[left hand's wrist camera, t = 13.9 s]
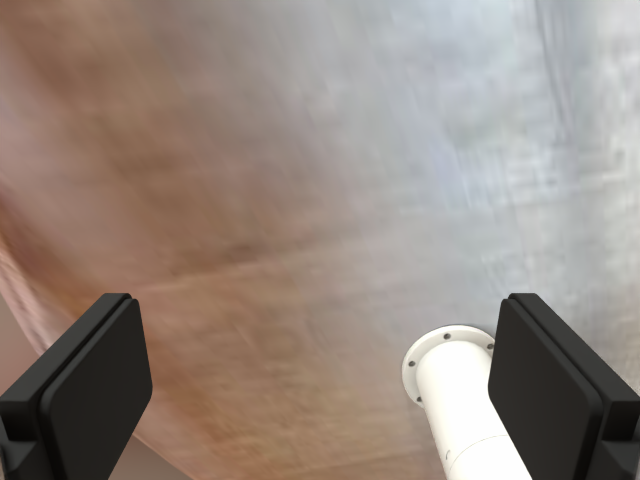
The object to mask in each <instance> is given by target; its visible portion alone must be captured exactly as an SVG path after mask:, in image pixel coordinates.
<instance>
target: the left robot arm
mask: <svg viewBox="0 0 640 480" xmlns="http://www.w3.org/2000/svg"><path fill="white" fill-rule="evenodd" d="M402 379H403V383H404V387H405V389H406V391H407V393H408V395H409V396H410V397H411V399H412V400H413V401H414V402H415V403H416V404H418V405H419V406H420V407H422V408H424V409H425V411H426V415H427V418H428V421H429V424H430V427H431V430H432V433H433V437H434V440H435V443H436V446H437V449H438V452H439V456H440V459H441V462H442V465H443V468H444V471H445V474H446V478H447V480H640V397H639V396H638V395H637V394H636V393H635V392H634V391H633V390H632V389H631V388H630V387H629V386H628V385H627V384H626V383H625V382H624V381H623V380H622V379H621V378H620V377H619V376H618V375H617V374H616V373H615V372H614V371H613V370H612V369H611V368H610V367H609V366H608V365H607V364H606V363H605V362H604V361H603V360H602V359H601V358H600V357H599V356H598V355H597V354H596V353H595V352H594V351H593V350H592V349H591V348H590V347H589V346H588V345H587V344H586V343H585V342H584V341H583V340H582V339H581V338H580V337H579V336H578V335H577V334H576V333H575V332H574V331H573V330H572V329H571V328H570V327H569V326H568V325H567V324H566V323H565V322H564V321H563V320H562V319H561V318H560V317H559V316H558V315H557V314H556V313H555V312H554V311H553V310H552V309H551V308H550V307H549V306H548V305H547V304H546V303H545V302H544V301H543V300H542V299H541V298H540V297H539V296H538V295H537V294H535V293H511V294H510V295H509V297H508V299H503V300H502V302H501V307H500V313H499V319H498V325H497V331H496V337H495V340H494V339H493V338H492V337H491V336H490V335H488V334H487V333H485V332H483V331H482V330H479V329H476V328H473V327H469V326H462V325H457V326H447V327H442V328H439V329H436V330H433V331H431V332H429V333H427V334H426V335H424V336H422V337H421V338H420V339H419V340H417V341H416V342H415V343H414V344H413V345H412V347H411V348H410V349H409V351H408V352H407V354H406V356H405V358H404V361H403V364H402ZM151 395H152V379H151V373H150V367H149V361H148V355H147V349H146V343H145V337H144V331H143V325H142V319H141V313H140V307H139V302H138V300H137V299H132V297H131V295H130V294H129V293H105V294H103V295H102V296H101V297H100V298H99V299H98V300H97V301H96V302H95V303H94V304H93V305H92V306H91V307H90V308H89V309H88V310H87V311H86V312H85V313H84V314H83V315H82V316H81V317H80V318H79V319H78V320H77V321H76V322H75V323H74V324H73V325H72V326H71V327H70V328H69V329H68V330H67V331H66V332H65V333H64V334H63V335H62V336H61V337H60V338H59V339H58V340H57V341H56V342H55V343H54V344H53V345H52V346H51V347H50V348H49V349H48V350H47V351H46V352H45V353H44V354H43V355H42V356H41V357H40V358H39V359H38V360H37V361H36V362H35V363H34V364H33V365H32V366H31V367H30V368H29V369H28V370H27V371H26V372H25V373H24V374H23V375H22V376H21V377H20V378H19V379H18V380H17V381H16V382H15V383H14V384H13V385H12V386H11V387H10V388H9V389H8V390H7V391H6V392H5V393H4V394H3V395H2V396H1V397H0V480H108V478H109V476H110V474H111V473H112V471H113V469H114V467H115V465H116V463H117V461H118V459H119V457H120V456H121V454H122V452H123V450H124V448H125V446H126V444H127V442H128V441H129V439H130V437H131V435H132V433H133V431H134V429H135V427H136V425H137V424H138V422H139V420H140V418H141V416H142V414H143V412H144V410H145V408H146V407H147V405H148V403H149V401H150V399H151Z"/></svg>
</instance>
